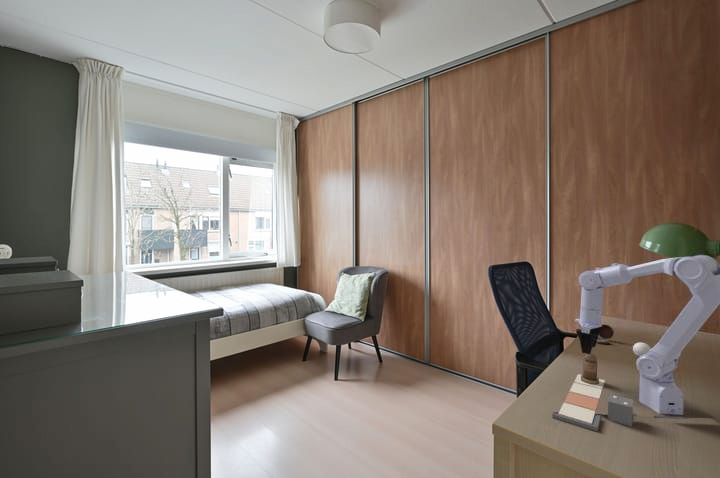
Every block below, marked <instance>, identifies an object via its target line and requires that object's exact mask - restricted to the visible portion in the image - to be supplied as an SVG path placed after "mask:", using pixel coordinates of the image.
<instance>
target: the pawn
mask: <svg viewBox="0 0 720 478" xmlns="http://www.w3.org/2000/svg"><path fill="white" fill-rule="evenodd" d="M580 375H581V381H583V382H585V383H588V384H594V385H595V384H599V379H600V378H598V360H597V357H596V355H595V354H594V353H592V352H591V353H590V354H586V353H584V356H583V359H582V374H580Z"/></svg>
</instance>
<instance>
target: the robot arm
mask: <svg viewBox="0 0 720 478" xmlns="http://www.w3.org/2000/svg"><path fill="white" fill-rule="evenodd" d="M662 273H664V274H665V275H666V274H667V275H668V276H671V277H672V276H677V277H678V279H679V280H681V282H683V283H684V284H685V285H686V286H687V287H688V289H689V291H690V293H691V294H692V297H691V299H690V300H689V301H688V303H687V304H686V305H685V306H684V308H683V309H682V310H681V312H680V313H679V314H678V315H677V317H676V318H675V320H674V321H673V322H672V324H671V325H670V326H669V328H667V330H666V332H665V333H664V334H663V336H662V337H661V338H660V340H659V341H658V342H657V343H656V344H655V345H654V346H653V347H652V348H651V350H650V351H649V352H648V353H647V354H646V355H643V356H640V357H639V356H638V358H637V359H636V362H635V365H636V368H637V371H638V372H639V385H638V387H639V392H638V393H639V394H638V395H639V397H638V401H639V402H640V403H641V404H642V405H644V406H646V407H648V408H650V409H652V410H653V411H655V412H656V413H657V414H659V415H653V417H654V418H657V419H658V418H660V419H684V420H685V419H687V417H686V416H680V415H684V398H685V397H684V393H683V391H682V389H680V388H679V387H678V386H677V385H676V383H675V381H674V379H675V377H674V375H673V373H672V372H674V371H675V370H676V369H677V367H678V360H679V358H680V356H681V354H682V353H681V352H682V351H683V350H684V349H685V347H686V346H687V345H688V344H689V342H690V341H691V340H692V339H693V338H694V336H695V335H696V334H697V333H698V332H699V330H700V329H701V328H702V327H703V325H704V324H705V323H706V322H707V320H708V319H709V318H710V317H711V315H712V314H713V313H714V312H715V310H716V309H717V308H719V305H720V264H719V262H718V261H717V259H715V258H713V257H711V256H710V255H704V254H698V255H694V256H681V257H680V256H679V257H677V256H676V257H669V258H663V259H657V260H654V261H650V262H646V263H640V264H637V265H633V266H629V265H626V264H624V263H620V264H619V263H618V262H616V263H612V264H611V265H610V266H606V267H601V266H600V267H596V268H595V270H594V269H593V270H585V271H583V272H582V273H581V274H579V277H578V283H579V285H580V287H581V293H580V294H581V295H580V309H579V310H580V313H579V318H576V319H574V320H575V322H576V323H578V324H580V326H581V328H577V329H575V330H576V331H575V333H576V335H577V337H578V339H579V342H580V349H581V353H583V354H590V353H592V350H593V348H595V347H596V344H597V343H596V342H597V338H599V333H600V331H601V330H602V328H603V326H602V325H603V323H602V316H603V315H602V314H603V300H604V299H603V298H604V288H609V287H613V286H618V285H624V284H630V283H631V281H632V280H633V278H637V277H642V276H650V275H655V274H662ZM661 415H665V416H661ZM666 415H667V416H666ZM668 415H679V416H668Z"/></svg>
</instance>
